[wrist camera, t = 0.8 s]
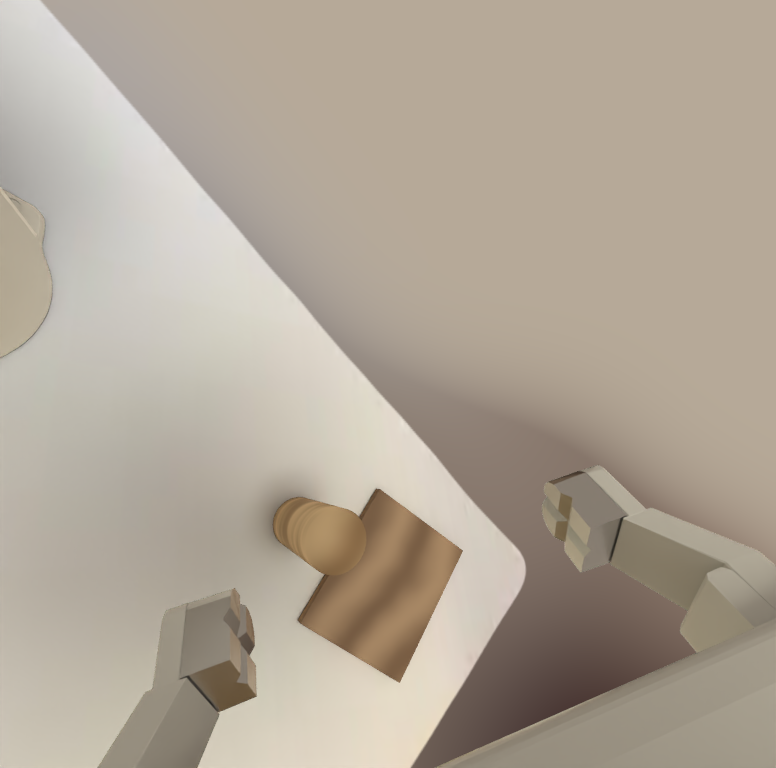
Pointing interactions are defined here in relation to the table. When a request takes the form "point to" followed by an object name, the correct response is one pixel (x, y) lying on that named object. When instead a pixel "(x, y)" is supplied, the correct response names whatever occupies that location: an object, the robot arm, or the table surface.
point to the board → (385, 589)
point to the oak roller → (321, 534)
